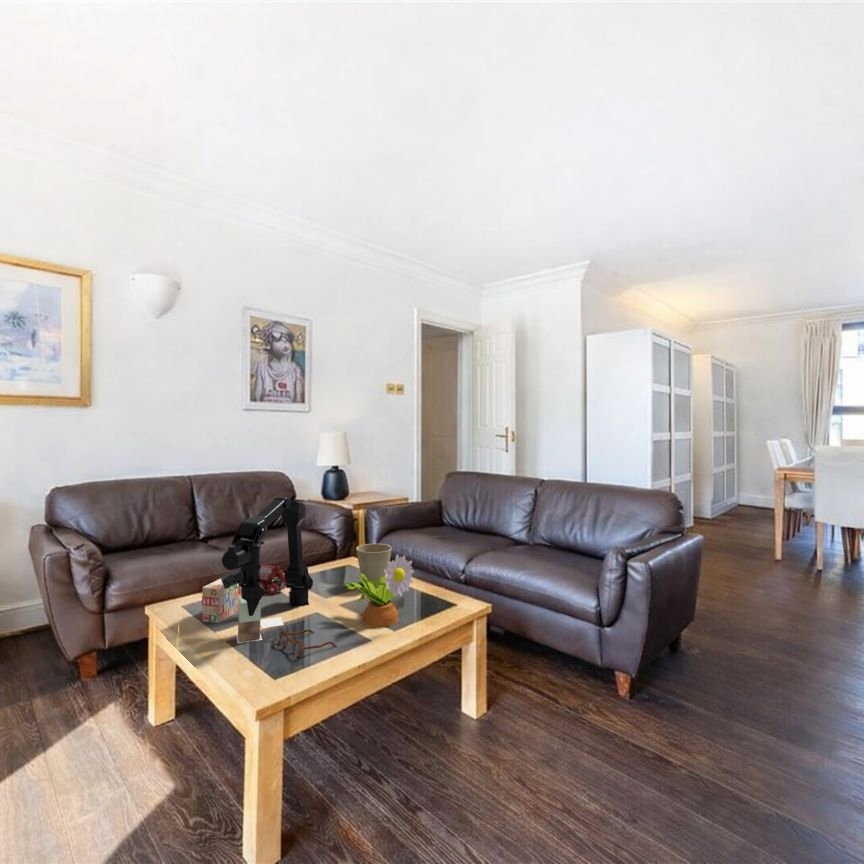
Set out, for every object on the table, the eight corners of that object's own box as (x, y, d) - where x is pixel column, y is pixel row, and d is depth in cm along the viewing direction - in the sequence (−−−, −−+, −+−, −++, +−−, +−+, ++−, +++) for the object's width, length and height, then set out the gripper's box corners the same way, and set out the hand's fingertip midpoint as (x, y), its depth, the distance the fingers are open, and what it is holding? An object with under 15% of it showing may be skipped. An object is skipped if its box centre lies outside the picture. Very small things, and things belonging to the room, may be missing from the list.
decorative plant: (374, 640, 157) (376, 562, 156) (328, 618, 173) (330, 547, 172) (431, 617, 176) (433, 548, 176) (385, 599, 193) (387, 536, 192)
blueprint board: (284, 617, 173) (284, 616, 173) (294, 639, 156) (294, 638, 156) (222, 626, 164) (222, 625, 164) (225, 649, 147) (225, 648, 147)
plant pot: (376, 577, 221) (377, 541, 220) (397, 586, 210) (398, 548, 209) (348, 583, 211) (349, 546, 210) (368, 593, 200) (369, 554, 199)
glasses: (278, 646, 152) (278, 630, 152) (315, 634, 161) (315, 619, 161) (300, 661, 143) (300, 644, 143) (337, 647, 152) (338, 631, 152)
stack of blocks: (238, 601, 188) (239, 568, 187) (253, 602, 186) (254, 570, 186) (201, 622, 167) (202, 586, 166) (217, 624, 165) (218, 588, 165)
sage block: (258, 613, 160) (258, 594, 160) (260, 620, 154) (260, 601, 154) (238, 615, 157) (238, 597, 157) (239, 622, 152) (240, 603, 152)
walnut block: (257, 631, 160) (258, 613, 160) (259, 639, 154) (260, 620, 154) (237, 634, 157) (238, 615, 157) (239, 642, 152) (239, 623, 152)
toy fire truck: (281, 595, 195) (281, 569, 194) (251, 593, 196) (252, 567, 196) (288, 589, 201) (289, 564, 201) (260, 587, 203) (260, 562, 203)
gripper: (221, 556, 160) (220, 603, 161) (224, 572, 143) (223, 625, 144) (257, 553, 165) (256, 599, 165) (264, 568, 148) (263, 620, 149)
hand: (249, 610), depth 156 cm, fingers open, 9 cm apart
